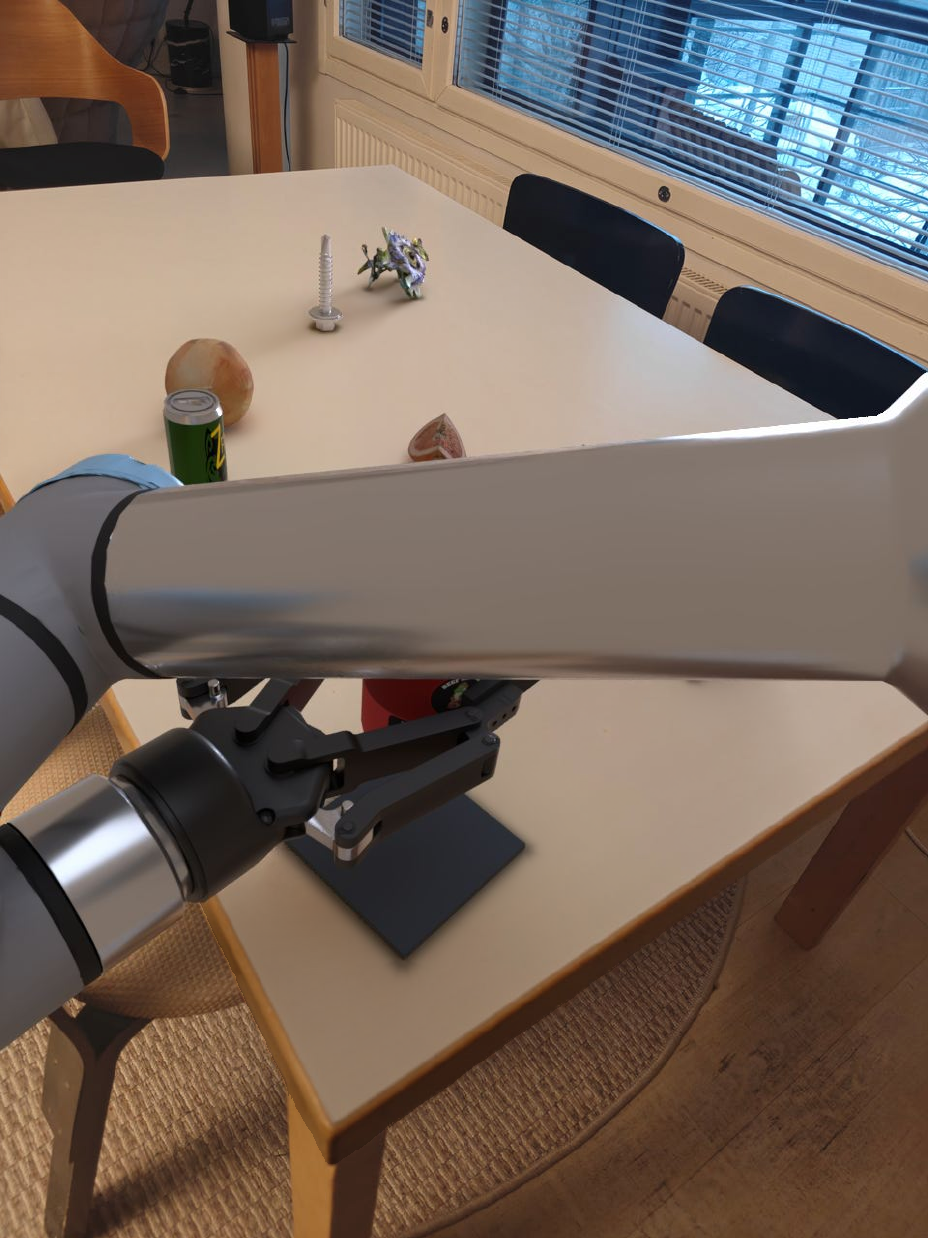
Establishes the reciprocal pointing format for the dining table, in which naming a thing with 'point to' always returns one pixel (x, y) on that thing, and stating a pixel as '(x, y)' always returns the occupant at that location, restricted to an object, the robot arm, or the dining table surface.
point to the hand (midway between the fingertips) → (485, 622)
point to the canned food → (408, 699)
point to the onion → (213, 375)
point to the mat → (416, 868)
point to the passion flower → (399, 262)
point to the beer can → (195, 437)
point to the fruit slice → (436, 441)
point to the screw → (325, 291)
